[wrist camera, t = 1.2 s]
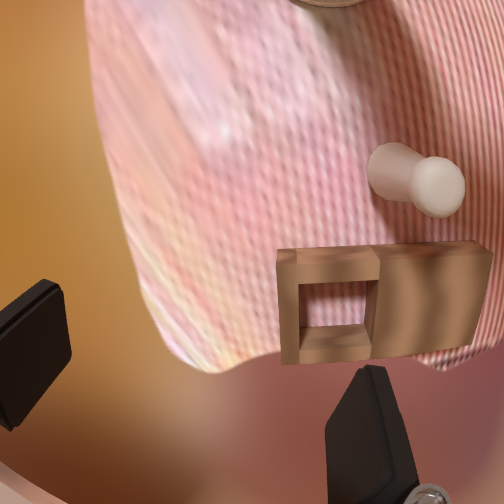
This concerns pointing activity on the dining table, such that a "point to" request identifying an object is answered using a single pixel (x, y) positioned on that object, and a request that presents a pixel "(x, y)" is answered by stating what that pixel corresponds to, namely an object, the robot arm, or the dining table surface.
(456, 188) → the salt shaker
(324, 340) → the caddy
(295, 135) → the dining table surface
